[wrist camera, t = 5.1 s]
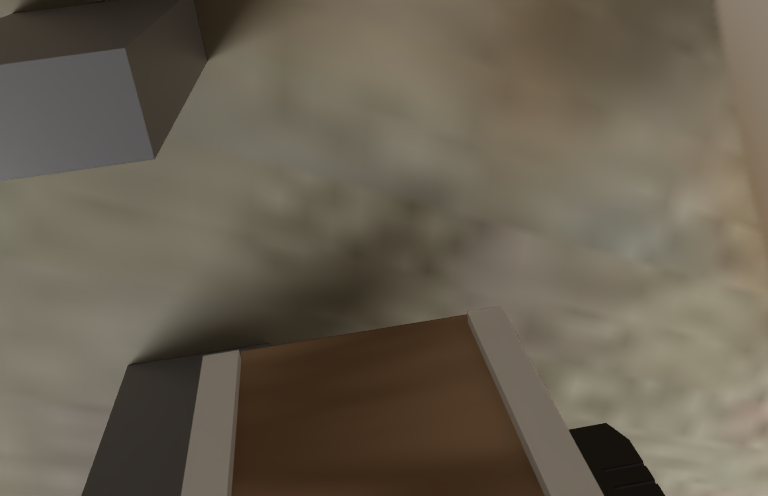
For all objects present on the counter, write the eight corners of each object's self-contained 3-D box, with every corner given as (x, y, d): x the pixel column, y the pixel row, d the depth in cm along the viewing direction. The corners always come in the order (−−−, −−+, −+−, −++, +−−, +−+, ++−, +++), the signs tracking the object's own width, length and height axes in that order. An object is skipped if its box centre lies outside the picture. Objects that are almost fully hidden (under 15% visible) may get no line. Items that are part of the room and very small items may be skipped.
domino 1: (35, 84, 21) (-127, 199, 13) (12, 13, 20) (-179, 88, 12) (207, 61, 21) (154, 159, 13) (191, -10, 20) (125, 48, 12)
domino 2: (142, 410, 26) (75, 636, 18) (127, 365, 25) (50, 582, 17) (278, 388, 26) (272, 601, 18) (269, 343, 26) (257, 546, 17)
